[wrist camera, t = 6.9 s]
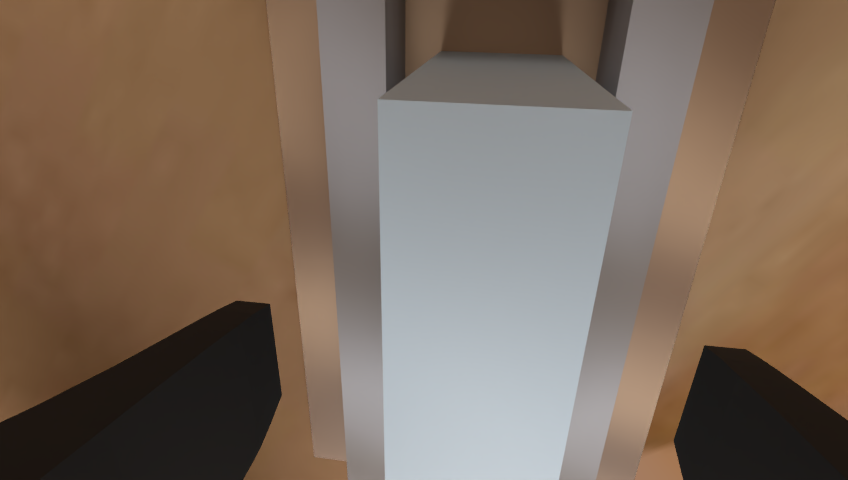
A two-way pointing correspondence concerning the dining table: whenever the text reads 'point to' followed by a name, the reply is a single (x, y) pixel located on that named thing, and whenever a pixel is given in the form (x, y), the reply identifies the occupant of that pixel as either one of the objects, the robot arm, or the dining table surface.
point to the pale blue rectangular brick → (490, 259)
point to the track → (632, 213)
